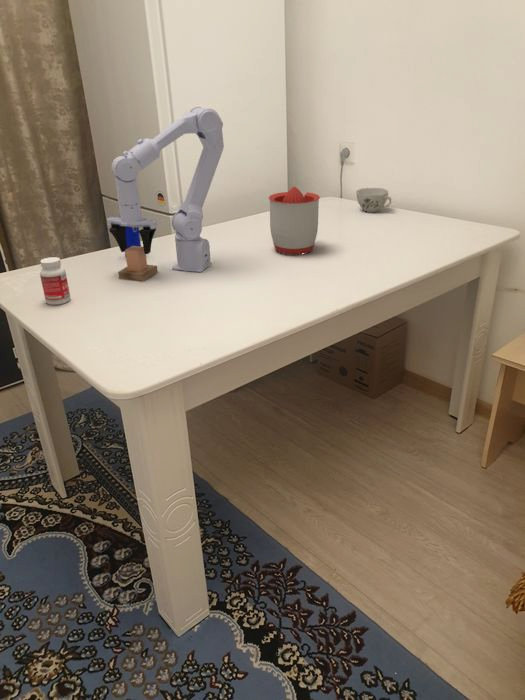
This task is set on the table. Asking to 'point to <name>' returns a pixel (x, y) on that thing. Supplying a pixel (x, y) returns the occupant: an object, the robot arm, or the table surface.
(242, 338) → the table surface
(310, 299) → the table surface
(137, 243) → the beverage can
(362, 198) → the teacup
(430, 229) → the table surface
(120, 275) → the plinth
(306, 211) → the citrus juicer
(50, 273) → the pill bottle
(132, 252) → the block
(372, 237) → the table surface
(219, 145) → the robot arm
